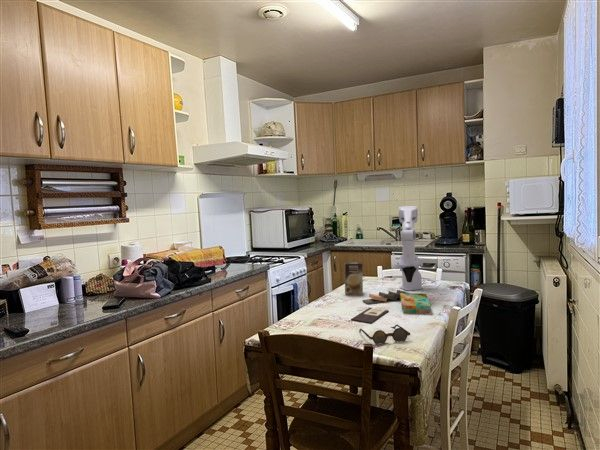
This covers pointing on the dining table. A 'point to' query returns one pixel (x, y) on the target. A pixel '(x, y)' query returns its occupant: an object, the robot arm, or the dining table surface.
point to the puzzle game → (415, 302)
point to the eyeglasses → (381, 336)
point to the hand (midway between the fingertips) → (409, 282)
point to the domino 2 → (377, 297)
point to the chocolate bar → (369, 315)
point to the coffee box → (353, 278)
